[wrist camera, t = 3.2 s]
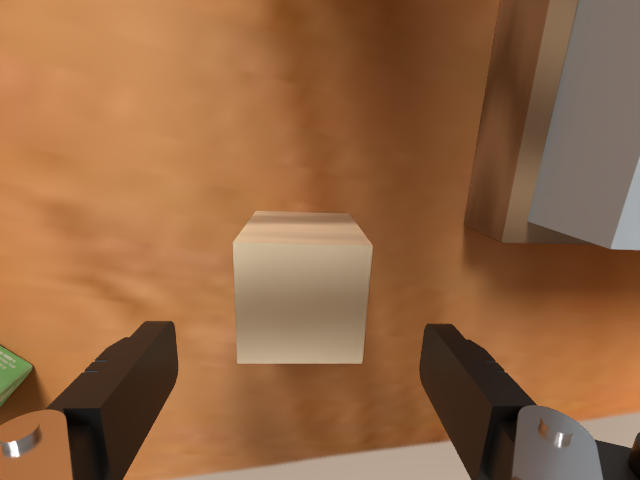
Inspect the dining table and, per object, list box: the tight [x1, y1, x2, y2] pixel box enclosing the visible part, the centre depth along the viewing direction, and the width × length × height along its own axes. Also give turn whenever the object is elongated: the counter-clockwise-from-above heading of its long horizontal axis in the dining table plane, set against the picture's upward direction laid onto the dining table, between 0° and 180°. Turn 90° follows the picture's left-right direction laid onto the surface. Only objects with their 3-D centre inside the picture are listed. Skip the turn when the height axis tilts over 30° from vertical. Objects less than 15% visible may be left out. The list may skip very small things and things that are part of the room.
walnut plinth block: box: [464, 0, 596, 245], centre depth 15 cm, size 12×12×4 cm
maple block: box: [233, 211, 373, 364], centre depth 15 cm, size 5×5×6 cm
